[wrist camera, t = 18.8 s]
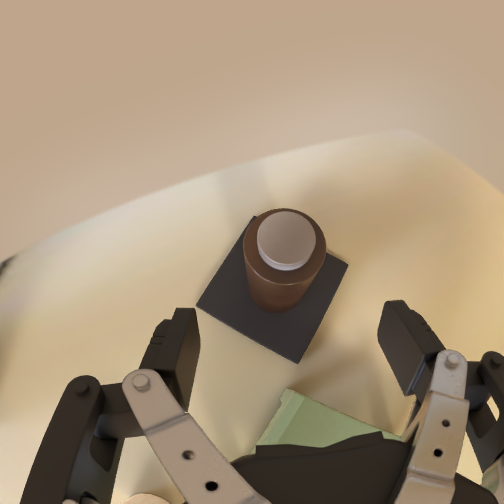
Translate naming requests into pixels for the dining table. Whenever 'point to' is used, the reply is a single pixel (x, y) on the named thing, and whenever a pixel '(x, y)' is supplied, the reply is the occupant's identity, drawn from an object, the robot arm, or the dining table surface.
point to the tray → (312, 424)
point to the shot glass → (144, 499)
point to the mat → (265, 323)
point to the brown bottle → (282, 258)
